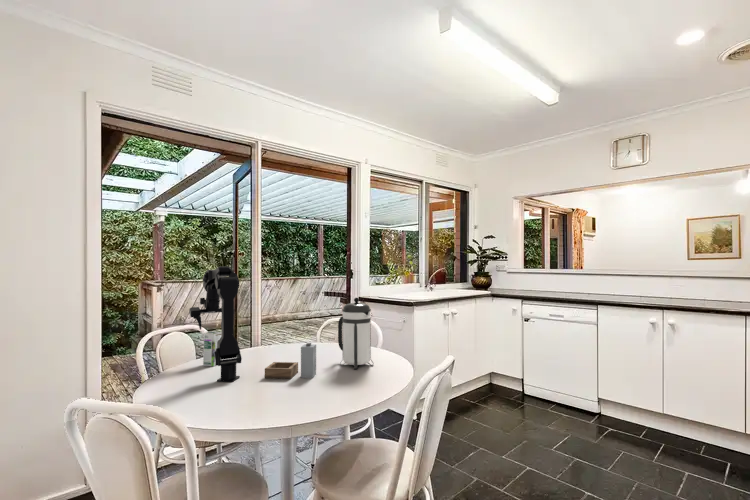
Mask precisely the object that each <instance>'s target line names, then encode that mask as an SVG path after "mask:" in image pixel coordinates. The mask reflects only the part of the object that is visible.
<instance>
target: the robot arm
mask: <svg viewBox="0 0 750 500" xmlns="http://www.w3.org/2000/svg"><path fill="white" fill-rule="evenodd" d="M202 287H203V288H204V291H205V292H206V293H205V294H206V296H205V297H200V298H199V305H201V306H202V305H203V307H204V308H202V309H201V308H200V306H195V307H194V306H192V307H189V311H188V314H189V316H190V318H193V319H194V320H196V321H197V324H198V328H199V330H202V317H201V314H212V313H213V314H215V313H221V322H220V328H221V332H222V336H221V338H220V340H218V342H217V348H216V351H215V352H214V354H215V365H216V366H218V367H220V377H219V378H218V379H217V380H216V382H219V383H220V382H225V383H232V382H235V381H236V380H238V379H239V378H240V377H241V376H240V375H237V364H241V363H242V359H243V357H242V354H241V349H240V346H239V343H238V340H237V339H236V338H235V335H234V334H235V333H234V332H235V330H234V325H235V324H234V321H235V319H234V317H235V316H234V314H235V308H234V303H235V301H234V300H235V298H236V296H237V295H238V293H239V288H240V279H239V276H238V274H237V273H235V272H234V271H233V270H232V267H230V266H228V265H227V266H225V265H224V266H217V267H216V268H215V269H206V272H205V273H204V275H203V277H202ZM220 302H221V307H220Z"/></svg>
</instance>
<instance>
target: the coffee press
mask: <svg viewBox="0 0 750 500" xmlns="http://www.w3.org/2000/svg"><path fill="white" fill-rule="evenodd" d="M353 301H354V302H352V303H350V302H349V303H346V304H345V305H344V306H343V308H342V310H341V312H342V316H341V317H340V318H339V320H338V323H337V324H338V325H337V335H338V336H337V341H338V347H339V348H340V350H341V351H342V359H341V360H340V363H339V366H341V367H343V366H344V365H345V364H347V365H351V366H353V370H357V371H358V366H363V365H366V364H368V365H369V366H371V365H374V363H375V362H374V361H373V360H372V346H371V345H372V338H371V337H372V335H371V334H372V331H371V329H372V328H371V327H372V325H371V321H372V320H371V318H372V317H371V312H372V309H371V307H370V306H369V304H367V303H365V302H364V303H363V302H360V299H359V297H355V298H354V299H353ZM370 361H371V363H372V364H371V363H370ZM342 362H343V364H342Z"/></svg>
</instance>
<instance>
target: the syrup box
mask: <svg viewBox="0 0 750 500" xmlns="http://www.w3.org/2000/svg"><path fill="white" fill-rule="evenodd" d="M221 336H222V331H207V332H205V333H204V332H203V358H202V366H203V367H204V366H205V367H215V366H216V365H215V354H214V352H215V351H216V348H217V342H218V340H220V338H221Z"/></svg>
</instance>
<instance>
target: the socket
mask: <svg viewBox="0 0 750 500" xmlns="http://www.w3.org/2000/svg"><path fill="white" fill-rule="evenodd" d="M298 373H299V362H293V361H290V362H289V361H285V362H284V361H281V362H280V361H274V362H272V363H270V364H269V365H267V366H266V367H265V368H264V380H292V379H293V378H294V377H295V376H296V375H297V374H298Z"/></svg>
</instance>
